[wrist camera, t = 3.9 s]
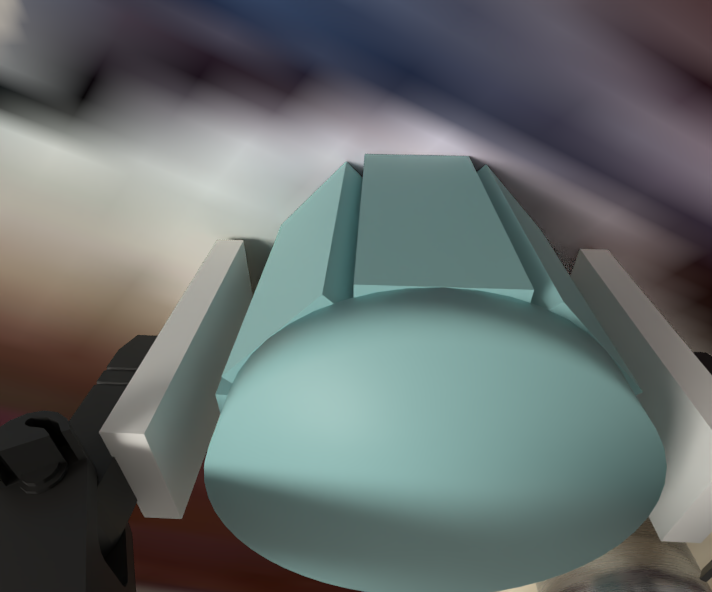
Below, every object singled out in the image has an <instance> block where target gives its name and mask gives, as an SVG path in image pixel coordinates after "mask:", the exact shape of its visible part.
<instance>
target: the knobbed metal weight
mask: <svg viewBox="0 0 712 592" xmlns="http://www.w3.org/2000/svg"><path fill="white" fill-rule="evenodd" d="M700 575H701V570H700V568H699V566H698V564H697V562H696V560H695V558H694V557H693V555H692V553H691V551H690V549H689V547H688V545H687V544H686V542H666V541H660V539H659V536H658V534H657V532H656V530H655V528H654V526H653V524H652V522H651V520H650V518H649V517H648V518H647V519H646V520H645V521H644V522H643V523H642V524H641V526H640V527H639V528H638V529H637V530H636V531H635V532H634V533H633V534H631V535H630V536H629V537H628V538H627V539H625V540H624V541H623V542H622V543H621V544H619V545H618V546H616V547H615V548H613V549H612V550H610V551H609V552H607V553H606V554H604V555H603V556H601V557H599V558H597V559H595V560H593V561H591V562H589V563H587V564H585V565H584V566H581V567H579V568H576V569H574V570H572V571H569V572H567V573H565V574H562V575H559V576H556V577H553V578H550V579H547V580H544V581H541V582H537V583H536V587H537V591H538V592H712V590H711V588H710V586H709V584H708V583H707V582H704V581H702V580H700Z"/></svg>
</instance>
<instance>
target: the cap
mask: <svg viewBox="0 0 712 592" xmlns="http://www.w3.org/2000/svg"><path fill="white" fill-rule="evenodd" d="M221 377H222V378H221V381H220V384H219V386H218V389H217V391H216V394H215V395H216V399H217V403H218V407H219V410H220V417H219V420H218V423H217V425H216V428H215V431H214V434H213V436H212V439H211V442H210V445H209V448H208V452H207V456H206V460H205V464H204V481H205V486H206V490H207V494H208V498H209V500H210V502H211V504H212V506H213V508H214V510H215V512H216V513H217V515H218V516H219V518H220V519H221V520H222V522H223V523H224V525H225V526H226V527H227V528H228V529H229V530H230V531H231V532H232V533H233V534H234V535H235V536H236V537H237V538H238V539H239V540H241V541H242V542H243V543H244V544H246V545H247V546H248V547H249V548H251V549H252V550H254V551H255V552H257V553H258V554H260V555H261V556H263V557H265V558H266V559H268V560H270V561H272V562H274V563H276V564H278V565H280V566H282V567H284V568H286V569H288V570H291V571H293V572H296V573H298V574H300V575H303V576H306V577H309V578H312V579H315V580H318V581H321V582H324V583H328V584H332V585H336V586H340V587H344V588H349V589H354V590H359V591H364V592H496V591H502V590H507V589H512V588H517V587H522V586H526V585H529V584H533V583H537V582H541V581H544V580H547V579H550V578H553V577H556V576H559V575H562V574H565V573H567V572H569V571H572V570H574V569H576V568H579V567H581V566H584V565H585V564H587V563H589V562H591V561H593V560H595V559H597V558H599V557H601V556H603V555H604V554H606V553H607V552H609V551H610V550H612V549H613V548H615V547H616V546H618V545H619V544H621V543H622V542H623V541H624V540H625V539H627V538H628V537H629V536H630V535H631V534H633V533H634V532H635V531H636V530H637V529H638V528H639V527H640V526H641V524H642V523H643V522H644V521H645V520H646V519H647V518H648V517H649V515H650V513H651V512H652V510H653V509H654V507H655V506H656V504H657V502H658V501H659V498H660V495H661V493H662V490H663V487H664V485H665V477H666V469H667V464H666V457H665V450H664V446H663V444H662V442H661V439H660V437H659V434H658V432H657V430H656V428H655V426H654V425H653V423H652V421H651V420H650V418H649V416H648V415H647V413H646V411H645V410H644V408H643V407H642V405H641V403H640V402H639V400H638V398H637V397H636V395H638V394H640V393H642V392H643V391H642V390H641V388H640V386H639V385H638V383H637V382H636V380H635V378H634V377H633V375H632V374H631V372H630V371H629V369H628V367H627V366H626V364H625V363H624V361H623V359H622V358H621V356H620V355H619V353H618V352H617V350H616V348H615V347H614V345H613V344H612V342H611V340H610V339H609V337H608V336H607V334H606V332H605V331H604V329H603V328H602V326H601V325H600V323H599V321H598V320H597V318H596V317H595V315H594V313H593V312H592V310H591V309H590V307H589V306H588V304H587V302H586V301H585V299H584V298H583V296H582V294H581V293H580V291H579V290H578V288H577V287H576V285H575V283H574V282H573V280H572V279H571V277H570V275H569V274H568V272H567V271H566V269H565V267H564V266H563V264H562V263H561V261H560V260H559V258H558V256H557V255H556V253H555V252H554V250H553V248H552V247H551V245H550V244H549V242H548V241H547V239H546V237H545V236H544V234H543V233H542V231H541V230H540V229H539V227H538V226H537V225H536V224H535V223H534V221H533V220H532V219H531V218H530V217H529V215H528V214H527V213H526V212H525V211H524V209H523V208H522V207H521V206H520V204H519V203H518V202H517V201H516V200H515V198H514V197H513V196H512V195H511V194H510V192H509V191H508V190H507V189H506V188H505V186H504V185H503V184H502V183H501V181H500V180H499V179H498V178H497V177H496V175H495V174H494V173H493V172H492V171H491V169H490V168H489V167H488V166H487V165H485V166H483V167H482V168H481V169H480V170H478V171H477V172H476V170H475V168H474V166H473V164H472V162H471V160H470V158H469V156H434V155H383V154H365V157H364V169H363V178H362V177H361V176H360V175H359V174H358V173H357V172H356V171H355V170H354V169H353V168H352V167H351V166H350V165H349V164H348V163H347V162H345V163H344V164H343V165H342V166H341V167H340V168H339V169H338V170H337V171H336V172H335V173H334V174H333V175H332V176H331V177H330V178H329V179H328V180H327V181H326V182H325V183H324V184H323V185H322V186H321V187H320V188H319V189H318V190H317V191H315V192H314V193H313V194H312V195H311V196H310V197H309V198H308V199H307V200H306V201H305V202H304V203H303V204H302V205H301V206H300V207H299V208H298V209H297V210H296V211H295V212H294V213H293V214H292V215H291V216H290V217H289V218H288V219H287V220H286V221H285V222H284V223H283V224H282V225H281V227H280V230H279V232H278V235H277V237H276V240H275V242H274V245H273V247H272V250H271V252H270V255H269V257H268V260H267V263H266V265H265V268H264V270H263V273H262V275H261V278H260V280H259V283H258V285H257V288H256V290H255V293H254V295H253V298H252V300H251V303H250V306H249V308H248V311H247V313H246V316H245V318H244V321H243V323H242V326H241V328H240V331H239V333H238V336H237V338H236V341H235V343H234V346H233V348H232V351H231V354H230V356H229V359H228V361H227V364H226V366H225V369H224V371H223V374H222V376H221Z"/></svg>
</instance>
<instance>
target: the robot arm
mask: <svg viewBox="0 0 712 592" xmlns="http://www.w3.org/2000/svg"><path fill="white" fill-rule="evenodd" d="M570 277H571V279H572V280H573V282H574V283H575V285H576V287H577V288H578V290H579V291H580V293H581V294H582V296H583V298H584V299H585V301H586V302H587V304H588V306H589V307H590V309H591V310H592V312H593V313H594V315H595V317H596V318H597V320H598V321H599V323H600V325H601V326H602V328H603V329H604V331H605V332H606V334H607V336H608V337H609V339H610V340H611V342H612V344H613V345H614V347H615V348H616V350H617V352H618V353H619V355H620V356H621V358H622V359H623V361H624V363H625V364H626V366H627V367H628V369H629V371H630V372H631V374H632V375H633V377H634V378H635V380H636V382H637V383H638V385H639V386H640V388H641V390H642V391H643V392H642V393H640V394H638V395H636V397H637V398H638V400H639V402H640V403H641V405H642V407H643V408H644V410H645V411H646V413H647V415H648V416H649V418H650V420H651V421H652V423H653V425H654V426H655V428H656V430H657V432H658V434H659V437H660V439H661V442H662V444H663V446H664V450H665V457H666V464H667V469H666V477H665V485H664V487H663V490H662V493H661V495H660V498H659V501H658V502H657V504H656V506H655V507H654V509H653V510H652V512H651V513H650V515H649V518H650V520H651V522H652V524H653V526H654V528H655V530H656V532H657V534H658V536H659V539H660V541H666V542H687V543H702V542H703V540H704V539H705V538H706V537H707V536H708V535H709V534H710V533H711V532H712V357H711V356H710V355H709V354H707V353H703V352H692V351H691V350H690V348H689V347H688V346H687V345H686V344H685V342H684V341H683V340H682V339H681V338H680V336H679V335H678V334H677V333H676V332H675V330H674V329H673V328H672V327H671V326H670V324H669V323H668V322H667V321H666V319H665V318H664V317H663V316H662V315H661V313H660V312H659V311H658V310H657V309H656V307H655V306H654V305H653V304H652V303H651V301H650V300H649V299H648V298H647V297H646V295H645V294H644V293H643V292H642V290H641V289H640V288H639V287H638V286H637V284H636V283H635V282H634V281H633V280H632V278H631V277H630V276H629V275H628V274H627V272H626V271H625V270H624V269H623V267H622V266H621V265H620V264H619V263H618V261H617V260H616V259H615V258H614V257H613V255H612V254H611V253H610V252H609V251H608V250H606V249H580V250H579V253H578V256H577V258H576V261H575V264H574V267H573V270H572V273H571V276H570ZM252 298H253V295H252V289H251V283H250V277H249V271H248V265H247V259H246V253H245V247H244V241H243V240H217V241H216V242H215V244H214V245H213V247H212V249H211V250H210V252H209V254H208V255H207V257H206V258H205V260H204V262H203V263H202V265H201V267H200V268H199V270H198V271H197V273H196V275H195V276H194V278H193V280H192V281H191V283H190V284H189V286H188V288H187V289H186V291H185V293H184V294H183V296H182V297H181V299H180V301H179V302H178V304H177V306H176V307H175V309H174V310H173V312H172V314H171V315H170V317H169V319H168V320H167V322H166V324H165V325H164V327H163V328H162V330H161V332H160V333H159V335H158V336H147V335H137V336H136V337H135V338H133V339H132V340H131V341H129V342H128V343H127V344H126V345H124V346H123V347H122V348H120V349H119V350H118V352H117V353H116V354H115V356H114V357H113V359H112V360H111V362H110V363H109V365H108V366H107V370H106V371H105V370H104V372H103V373H102V375H101V376H100V377H99V379H98V380H97V385H94V386H93V387H92V389H91V390H90V392H89V393H88V395H87V396H86V398H85V399H84V400H83V402H82V403H81V405H80V406H79V408H78V409H77V410H76V412H75V413H74V415H73V416H72V418H71V419H70V421H68V420H67V418H65V417H64V416H62V415H61V414H59V413H58V412H51V411H39V412H34V413H28V414H25V415H23V416H20V417H18V418H15V419H13V420H10V421H8V422H7V423H5V424H4V425H2V426H1V427H0V592H136V585H135V570H134V555H133V539H132V532H131V529H130V526H129V523H128V520H129V518H130V516H131V514H132V511H133V509H134V507H135V505H136V503H137V504H138V506H139V508H140V510H141V512H142V513H143V515H144V517H152V518H173V519H182V517H183V514H184V511H185V508H186V506H187V503H188V500H189V497H190V495H191V492H192V489H193V486H194V484H195V481H196V478H197V475H198V473H199V470H200V467H201V464H202V462H203V459H204V456H205V453H206V451H207V448H208V445H209V442H210V440H211V437H212V434H213V431H214V429H215V426H216V423H217V420H218V418H219V415H220V410H219V407H218V403H217V399H216V395H215V394H216V391H217V389H218V386H219V384H220V381H221V378H222V377H221V376H222V374H223V371H224V369H225V366H226V364H227V361H228V359H229V356H230V354H231V351H232V348H233V346H234V343H235V341H236V338H237V336H238V333H239V331H240V328H241V326H242V323H243V321H244V318H245V316H246V313H247V311H248V308H249V306H250V303H251V300H252ZM711 578H712V560H711V561H710V562H709V563H708V564H707V565H706V566H705V567H704V568H703V569H702V571H701V575H700V580H702V581H704V582H707V581H708V580H710V579H711Z"/></svg>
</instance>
